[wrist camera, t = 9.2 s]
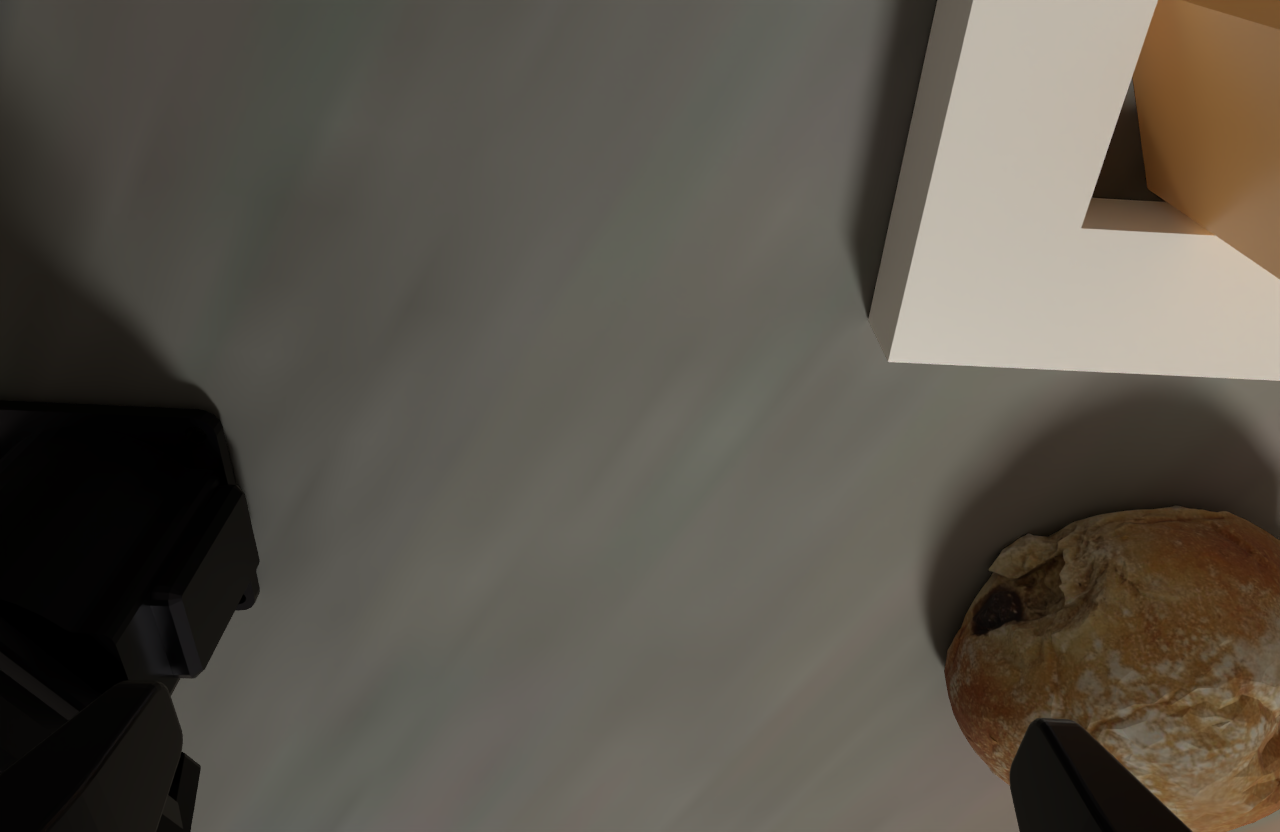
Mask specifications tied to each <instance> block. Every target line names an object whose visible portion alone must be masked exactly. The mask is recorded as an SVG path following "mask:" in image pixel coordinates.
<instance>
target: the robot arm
mask: <svg viewBox="0 0 1280 832" xmlns="http://www.w3.org/2000/svg"><path fill="white" fill-rule="evenodd" d="M193 426H195V427H199V428H201V429H202V430H203V431H204V432H205V433H206V435H204V434H200V433H198V432H196V431H195V430H194V428H193ZM258 565H259V556H258V551H257V547H256V542H255V538H254V534H253V529H252V525H251V520H250V516H249V511H248V507H247V502H246V498H245V494H244V492H243V491H242V490H241V489H240V487H239V486H238V485H236V483H235V479H234V474H233V470H232V465H231V461H230V457H229V452H228V448H227V444H226V439H225V435H224V431H223V427H222V425H221V422H220V420H219V419H218V418H217V417H216V416H215V415H213V414H211V413H209V412H207V411H204V410H199V409H178V408H155V407H133V406H111V405H88V404H66V403H44V402H22V401H0V832H190V830H191V824H192V818H193V812H194V806H195V800H196V794H197V787H198V781H199V775H200V769H201V768H200V765H199V764H198V763H196V762H195V761H194V760H193V759H191V758H190V757H189V756H187V755H186V754H185V753H183V752H181V751H182V744H183V735H182V730H181V727H180V724H179V720H178V717H177V714H176V711H175V708H174V705H173V702H172V699H171V695H172V693H173V691H174V689H175V687H176V685H177V683H178V682H179V680H180V678H196V677H197V676H198V675H199V674H200V673H201V672H202V671H203V670H204V669H205V668H206V666H207V664H208V662H209V660H210V658H211V656H212V654H213V652H214V650H215V648H216V646H217V644H218V642H219V640H220V638H221V637H222V635H223V633H224V631H225V629H226V627H227V625H228V623H229V621H230V619H231V617H232V615H233V613H234V611H235V610H247V609H249V608H251V607H252V606H253V604H254V603H255V601H256V599H257V597H258V595H259V592H260V587H259V583H258V579H257V574H256V569H257V567H258ZM1009 779H1010V789H1011V794H1012V798H1013V803H1014V807H1015V812H1016V817H1017V821H1018V826H1019V831H1020V832H1193V831H1192V830H1191V829H1190V828H1188V827H1187V826H1186V825H1185V824H1184V823H1183V822H1182V821H1181V820H1180V819H1179V818H1178V817H1177V816H1176V815H1175V814H1174V813H1173V812H1172V811H1171V810H1170V809H1168V808H1167V807H1166V806H1165V805H1164V804H1163V803H1162V802H1161V801H1160V800H1159V799H1158V798H1157V797H1156V796H1155V795H1154V794H1153V793H1152V792H1151V791H1150V790H1148V789H1147V788H1146V787H1145V786H1144V785H1143V784H1142V783H1141V782H1140V781H1139V780H1138V779H1137V778H1136V777H1135V776H1134V775H1133V774H1132V773H1131V772H1130V771H1128V770H1127V769H1126V768H1125V767H1124V766H1123V765H1122V764H1121V763H1120V762H1119V761H1118V760H1117V759H1116V758H1115V757H1114V756H1113V755H1112V754H1111V753H1110V752H1108V751H1107V750H1106V749H1105V748H1104V747H1103V746H1102V745H1101V744H1100V743H1099V742H1098V741H1097V740H1096V739H1095V738H1094V737H1093V736H1092V735H1091V734H1090V733H1088V732H1087V731H1086V730H1085V729H1084V728H1083V727H1082V726H1081V725H1080V724H1078V723H1076V722H1075V721H1072V720H1069V719H1056V718H1036V719H1035V720H1034V721H1032V722H1031V723H1030V725H1029V726H1028V728H1027V731H1026V733H1025V735H1024V737H1023V739H1022V742H1021V744H1020V746H1019V748H1018V751H1017V753H1016V755H1015V757H1014V759H1013V762H1012V764H1011V768H1010V778H1009Z"/></svg>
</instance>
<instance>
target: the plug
mask: <svg viewBox="0 0 1280 832" xmlns="http://www.w3.org/2000/svg"><path fill="white" fill-rule="evenodd" d="M1132 77H1133V85H1134V92H1135V99H1136V107H1137V114H1138V122H1139V129H1140V137H1141V144H1142V151H1143V159H1144V166H1145V174H1146V181H1147V189H1148V190H1150V191H1151V192H1153V193H1154V194H1156V195H1157V196H1159V197H1160V198H1162V199H1163V200H1165V201H1166V202H1167V203H1169V204H1170V205H1172V206H1173V207H1175V208H1176V209H1178V210H1179V211H1181V212H1182V213H1183V214H1185V215H1186V216H1188V217H1189V218H1191V219H1192V220H1194V221H1195V222H1197V223H1198V224H1200V225H1201V226H1202V227H1204V228H1205V229H1207V230H1208V231H1210V232H1211V233H1213V234H1214V235H1216V236H1217V237H1218V238H1220V239H1221V240H1223V241H1224V242H1226V243H1227V244H1229V245H1230V246H1232V247H1233V248H1235V249H1236V250H1237V251H1239V252H1240V253H1242V254H1243V255H1245V256H1246V257H1248V258H1249V259H1251V260H1252V261H1254V262H1255V263H1256V264H1258V265H1259V266H1261V267H1262V268H1264V269H1265V270H1267V271H1268V272H1270V273H1271V274H1272V275H1274V276H1275V277H1277V278H1278V279H1280V0H1158V2H1157V5H1156V7H1155V10H1154V13H1153V16H1152V19H1151V22H1150V25H1149V28H1148V31H1147V34H1146V37H1145V40H1144V43H1143V46H1142V49H1141V52H1140V55H1139V58H1138V61H1137V64H1136V67H1135V70H1134V73H1133V76H1132Z"/></svg>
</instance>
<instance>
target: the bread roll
mask: <svg viewBox="0 0 1280 832" xmlns="http://www.w3.org/2000/svg"><path fill="white" fill-rule="evenodd" d="M989 571H991V572H993V573H992V575H991V577H990V579H989V580H988V581H987V582H986V583H985V585H984V586H983V587H982V589H981V590H980V592H979V593H978V595H977V596H976V597H975V599H974V601H973V602H972V604H971V606H970V608H969V610H968V611H967V613H966V615H965V618H964V621H963V624H962V626H961V628H960V629H959V631H958V632H957V634H956V636H955V637H954V640H953V642H952V644H951V645H950V647H949V648H948V650H947V658H946V665H945V670H944V672H945V678H946V685H947V690H948V696H949V699H950V703H951V706H952V710H953V713H954V716H955V718H956V720H957V722H958V725H959V727H960V729H961V731H962V732H963V734H964V735H965V737H966V739H967V740H968V742H969V743H970V745H971V746H972V748H973V749H974V751H975V752H976V753H977V754H978V755H979V756H980V758H981V759H982V760H983V761H984V762H985V763H986V764H987V765H988V767H989V768H990V770H991V771H992V773H994V774H995V775H997V776H998V777H999V778H1001V779H1002V780H1003V781H1005V782H1006V783H1007V784H1008V785H1009V786H1010V779H1009V778H1010V768H1011V764H1012V762H1013V759H1014V757H1015V755H1016V753H1017V751H1018V748H1019V746H1020V744H1021V742H1022V739H1023V737H1024V735H1025V733H1026V731H1027V728H1028V726H1029V725H1030V723H1031V722H1032V721H1034V720H1035V719H1036V718H1056V719H1069V720H1072V721H1075V722H1076V723H1078V724H1080V725H1081V726H1082V727H1083V728H1084V729H1085V730H1086V731H1087V732H1088V733H1090V734H1091V735H1092V736H1093V737H1094V738H1095V739H1096V740H1097V741H1098V742H1099V743H1100V744H1101V745H1102V746H1103V747H1104V748H1105V749H1106V750H1107V751H1108V752H1110V753H1111V754H1112V755H1113V756H1114V757H1115V758H1116V759H1117V760H1118V761H1119V762H1120V763H1121V764H1122V765H1123V766H1124V767H1125V768H1126V769H1127V770H1128V771H1130V772H1131V773H1132V774H1133V775H1134V776H1135V777H1136V778H1137V779H1138V780H1139V781H1140V782H1141V783H1142V784H1143V785H1144V786H1145V787H1146V788H1147V789H1148V790H1150V791H1151V792H1152V793H1153V794H1154V795H1155V796H1156V797H1157V798H1158V799H1159V800H1160V801H1161V802H1162V803H1163V804H1164V805H1165V806H1166V807H1167V808H1168V809H1170V810H1171V811H1172V812H1173V813H1174V814H1175V815H1176V816H1177V817H1178V818H1179V819H1180V820H1181V821H1182V822H1183V823H1184V824H1185V825H1186V826H1187V827H1188V828H1190V829H1191V830H1192V831H1193V832H1227V831H1229V830H1232V829H1235V828H1238V827H1241V826H1244V825H1247V824H1250V823H1254V822H1256V821H1257V820H1259V819H1261V818H1263V817H1266V816H1268V815H1270V814H1272V813H1273V812H1275V811H1277V810H1279V809H1280V539H1276V538H1275V537H1273V536H1272V535H1271V534H1269V533H1268V532H1266V531H1265V530H1263V529H1261V528H1260V527H1258V526H1256V525H1254V524H1253V523H1251V522H1249V521H1247V520H1245V519H1243V518H1240V517H1238V516H1236V515H1234V514H1232V513H1230V512H1227V511H1220V512H1210V511H1206V510H1203V509H1200V510H1198V509H1189V508H1185V507H1181V506H1178V505H1175V506H1172V507H1167V508H1159V509H1139V510H1129V511H1120V512H1113V513H1106V514H1100V515H1096V516H1093V517H1089V518H1085V519H1082V520H1079V521H1075V522H1073V523H1070V524H1069V525H1067V526H1065V527H1064V528H1063V529H1061V530H1059V531H1057V532H1056V533H1054V534H1052V535H1050V536H1048V537H1046V536H1034V535H1032V534H1030V533H1028V534H1026V535H1025V536H1023V537H1021V538H1019V539H1017V540H1016V541H1015V542H1014V543H1012V544H1011V545H1009V546H1008V547H1006V548H1004V549H1003V550H1002V551H1001V553H1000V555H999V556H998V558H997V559H996V560H995V562H994V563H993V564H992V566H991V567H990V568H989Z"/></svg>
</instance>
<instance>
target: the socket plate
mask: <svg viewBox="0 0 1280 832" xmlns="http://www.w3.org/2000/svg"><path fill="white" fill-rule="evenodd" d="M1157 2H1158V0H937V4H936V8H935V13H934V18H933V22H932V27H931V32H930V36H929V41H928V46H927V50H926V55H925V59H924V64H923V69H922V73H921V78H920V83H919V87H918V92H917V96H916V101H915V106H914V110H913V115H912V120H911V124H910V129H909V134H908V138H907V143H906V147H905V152H904V157H903V161H902V166H901V171H900V175H899V180H898V184H897V189H896V194H895V198H894V203H893V208H892V212H891V217H890V222H889V226H888V231H887V235H886V240H885V245H884V249H883V254H882V259H881V263H880V268H879V272H878V277H877V282H876V286H875V291H874V296H873V300H872V305H871V310H870V314H869V319H868V322H869V324H870V326H871V328H872V330H873V332H874V334H875V336H876V338H877V340H878V342H879V344H880V346H881V348H882V350H883V352H884V354H885V357H886V359H887V361H888V362H902V363H923V364H944V365H965V366H985V367H1006V368H1027V369H1048V370H1069V371H1090V372H1110V373H1131V374H1152V375H1173V376H1194V377H1215V378H1235V379H1256V380H1277V381H1280V279H1278V278H1277V277H1275V276H1274V275H1272V274H1271V273H1270V272H1268V271H1267V270H1265V269H1264V268H1262V267H1261V266H1259V265H1258V264H1256V263H1255V262H1254V261H1252V260H1251V259H1249V258H1248V257H1246V256H1245V255H1243V254H1242V253H1240V252H1239V251H1237V250H1236V249H1235V248H1233V247H1232V246H1230V245H1229V244H1227V243H1226V242H1224V241H1223V240H1221V239H1220V238H1218V237H1217V236H1216V235H1214V234H1213V233H1211V232H1210V231H1208V230H1207V229H1205V228H1204V227H1202V226H1201V225H1200V224H1198V223H1197V222H1195V221H1194V220H1192V219H1191V218H1189V217H1188V216H1186V215H1185V214H1183V213H1182V212H1181V211H1179V210H1178V209H1176V208H1175V207H1173V206H1172V205H1170V204H1169V203H1167V202H1158V201H1140V200H1122V199H1104V198H1091V197H1092V194H1093V192H1094V189H1095V186H1096V183H1097V180H1098V177H1099V174H1100V171H1101V168H1102V165H1103V162H1104V159H1105V156H1106V153H1107V150H1108V147H1109V144H1110V141H1111V138H1112V135H1113V132H1114V129H1115V126H1116V123H1117V120H1118V117H1119V114H1120V111H1121V108H1122V105H1123V102H1124V100H1125V97H1126V94H1127V91H1128V88H1129V85H1130V82H1131V79H1132V76H1133V73H1134V70H1135V67H1136V64H1137V61H1138V58H1139V55H1140V52H1141V49H1142V46H1143V43H1144V40H1145V37H1146V34H1147V31H1148V28H1149V25H1150V22H1151V19H1152V16H1153V13H1154V10H1155V7H1156V5H1157Z"/></svg>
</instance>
